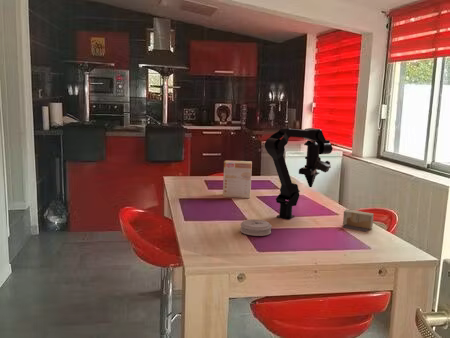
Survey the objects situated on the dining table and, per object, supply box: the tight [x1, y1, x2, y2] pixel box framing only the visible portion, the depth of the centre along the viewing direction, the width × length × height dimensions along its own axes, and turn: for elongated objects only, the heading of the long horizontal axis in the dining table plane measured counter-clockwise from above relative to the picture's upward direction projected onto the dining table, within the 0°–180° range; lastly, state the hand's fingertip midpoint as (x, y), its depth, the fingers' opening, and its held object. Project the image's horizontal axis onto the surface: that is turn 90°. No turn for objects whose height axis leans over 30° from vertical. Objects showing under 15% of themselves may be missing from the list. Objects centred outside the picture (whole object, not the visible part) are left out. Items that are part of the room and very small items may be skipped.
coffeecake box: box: [222, 159, 253, 199], centre depth 247 cm, size 15×7×20 cm, turn 84°
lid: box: [240, 218, 272, 237], centre depth 185 cm, size 13×13×5 cm
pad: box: [342, 224, 370, 233], centre depth 199 cm, size 10×10×1 cm
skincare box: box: [342, 208, 374, 230], centre depth 199 cm, size 6×4×12 cm
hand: (310, 187), depth 217 cm, fingers closed
